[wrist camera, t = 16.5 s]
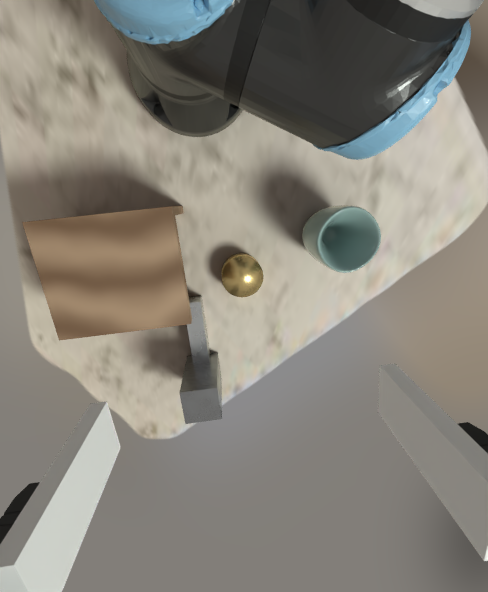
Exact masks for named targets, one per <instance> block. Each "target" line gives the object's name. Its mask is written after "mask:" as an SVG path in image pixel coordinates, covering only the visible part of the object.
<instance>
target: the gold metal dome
mask: <svg viewBox="0 0 488 592" xmlns="http://www.w3.org/2000/svg"><path fill="white" fill-rule="evenodd" d="M262 282H263V271H262V269H261V267H260V265H259V263H258V262H257V261H256V259H255V258H253V257H252V256H250V255H248V254H243V253H239V254H235V255H232V256H231V257H229V258H228V259H227V260H226V261H225V263H224V264H223V267H222V283H223V286H224V287H225V289H226V290H227V291H228V292H229V293H230V294H232V295H234V296H237V297H247V296H250V295H252V294H254V293H255V292H257V291H258V289H259V288H260V286H261V284H262Z"/></svg>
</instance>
